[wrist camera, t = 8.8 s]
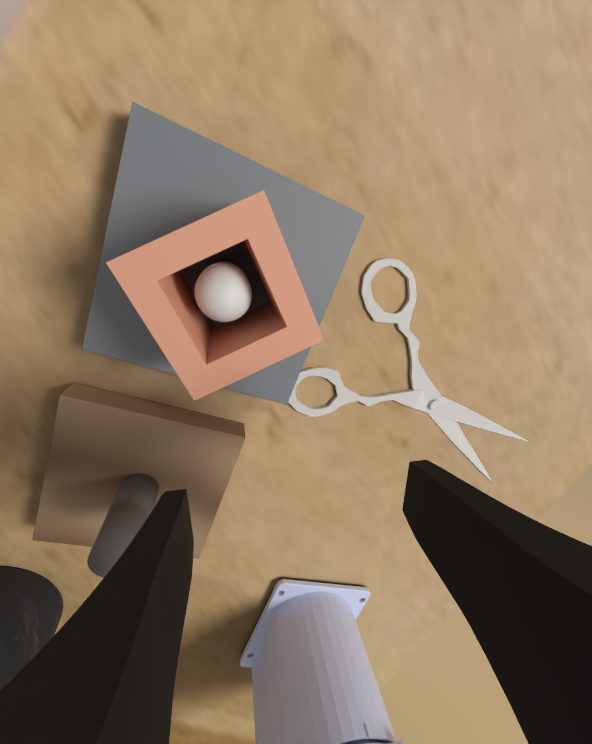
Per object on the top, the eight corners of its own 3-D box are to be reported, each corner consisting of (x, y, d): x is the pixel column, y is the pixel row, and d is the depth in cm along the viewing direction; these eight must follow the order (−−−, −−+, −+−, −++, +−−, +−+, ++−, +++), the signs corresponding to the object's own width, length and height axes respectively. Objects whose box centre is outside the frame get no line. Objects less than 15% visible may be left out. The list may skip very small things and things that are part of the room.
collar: (296, 311, 16) (324, 340, 12) (203, 355, 16) (194, 401, 12) (252, 205, 14) (263, 190, 10) (144, 254, 14) (105, 262, 10)
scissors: (364, 227, 17) (568, 410, 24) (359, 228, 17) (558, 405, 24) (247, 392, 19) (466, 516, 26) (246, 387, 20) (460, 508, 27)
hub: (282, 393, 19) (304, 453, 14) (93, 340, 16) (27, 390, 11) (353, 217, 17) (415, 207, 11) (141, 115, 14) (84, 32, 8)
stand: (200, 538, 22) (191, 637, 17) (45, 518, 19) (-25, 628, 14) (244, 423, 20) (250, 494, 14) (73, 382, 17) (0, 451, 11)
